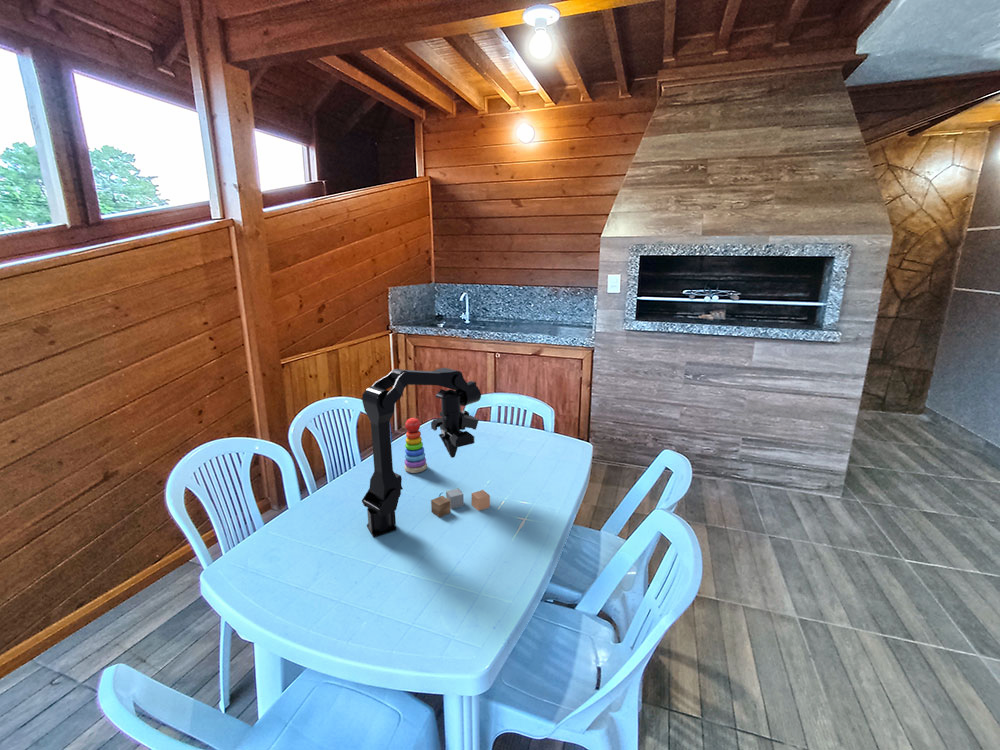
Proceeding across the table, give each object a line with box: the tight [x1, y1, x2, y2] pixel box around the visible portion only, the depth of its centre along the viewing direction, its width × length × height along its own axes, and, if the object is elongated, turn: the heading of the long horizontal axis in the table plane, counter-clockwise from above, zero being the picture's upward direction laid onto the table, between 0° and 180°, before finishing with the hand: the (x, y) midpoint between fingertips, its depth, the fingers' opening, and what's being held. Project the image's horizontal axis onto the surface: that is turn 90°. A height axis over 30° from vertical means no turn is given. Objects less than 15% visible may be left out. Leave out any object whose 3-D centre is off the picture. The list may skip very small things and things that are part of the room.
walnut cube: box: [430, 495, 452, 518], centre depth 139 cm, size 4×4×4 cm
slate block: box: [445, 488, 465, 510], centre depth 143 cm, size 4×4×4 cm
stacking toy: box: [403, 417, 428, 474], centre depth 165 cm, size 8×8×19 cm
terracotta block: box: [471, 489, 491, 511], centre depth 142 cm, size 4×4×4 cm
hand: (452, 457), depth 148 cm, fingers closed
